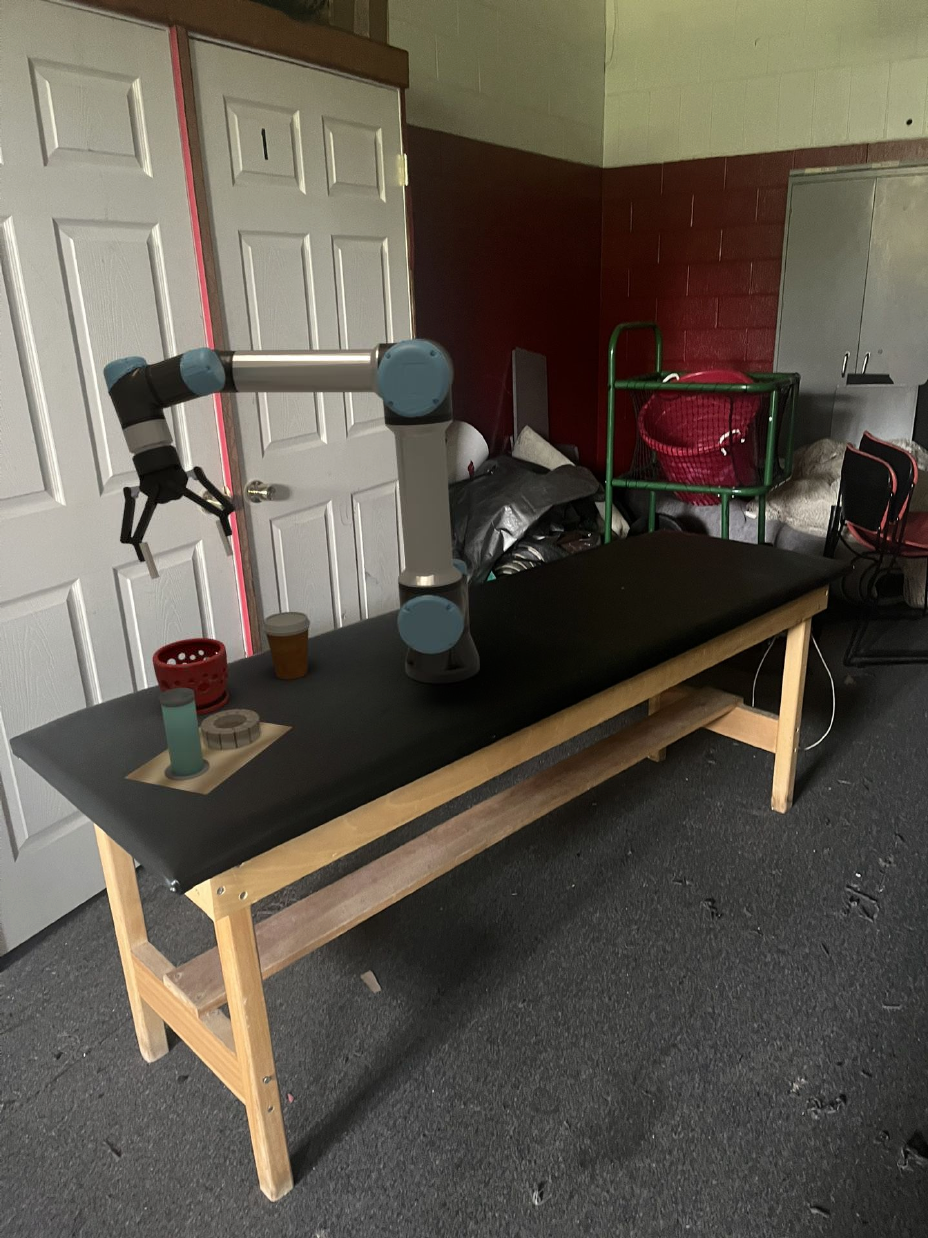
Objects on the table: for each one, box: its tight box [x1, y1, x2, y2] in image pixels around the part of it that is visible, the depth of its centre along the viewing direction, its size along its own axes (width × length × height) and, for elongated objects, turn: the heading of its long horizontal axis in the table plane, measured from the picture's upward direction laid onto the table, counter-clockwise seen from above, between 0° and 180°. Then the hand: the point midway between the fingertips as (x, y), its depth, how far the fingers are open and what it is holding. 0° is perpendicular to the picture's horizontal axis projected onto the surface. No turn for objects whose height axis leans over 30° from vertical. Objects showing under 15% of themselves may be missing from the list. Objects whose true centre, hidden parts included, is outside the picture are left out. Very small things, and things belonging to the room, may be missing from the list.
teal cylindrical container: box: [158, 688, 204, 776], centre depth 140 cm, size 5×5×13 cm
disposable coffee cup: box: [262, 611, 311, 680], centre depth 179 cm, size 10×10×12 cm
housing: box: [124, 708, 293, 796], centre depth 148 cm, size 16×24×4 cm, turn 158°
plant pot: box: [152, 637, 230, 716], centre depth 165 cm, size 13×13×12 cm
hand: (193, 567), depth 156 cm, fingers open, 13 cm apart
